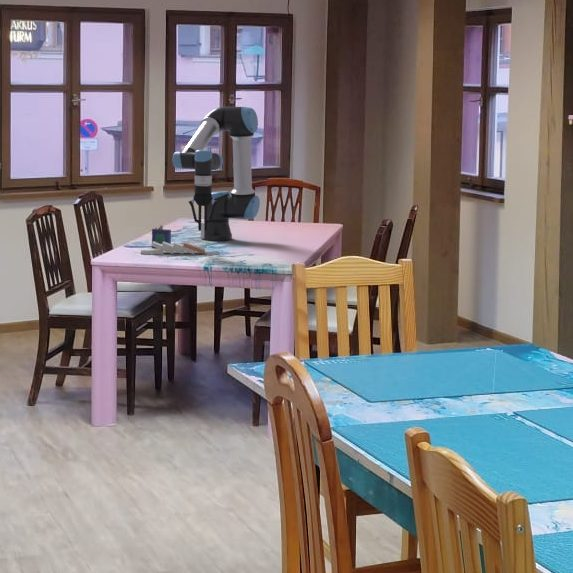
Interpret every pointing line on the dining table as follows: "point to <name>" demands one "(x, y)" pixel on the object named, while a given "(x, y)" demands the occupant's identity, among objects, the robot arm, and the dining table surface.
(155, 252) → the domino
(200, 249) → the domino
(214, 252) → the mat
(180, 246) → the domino
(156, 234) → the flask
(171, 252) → the domino
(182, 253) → the domino
